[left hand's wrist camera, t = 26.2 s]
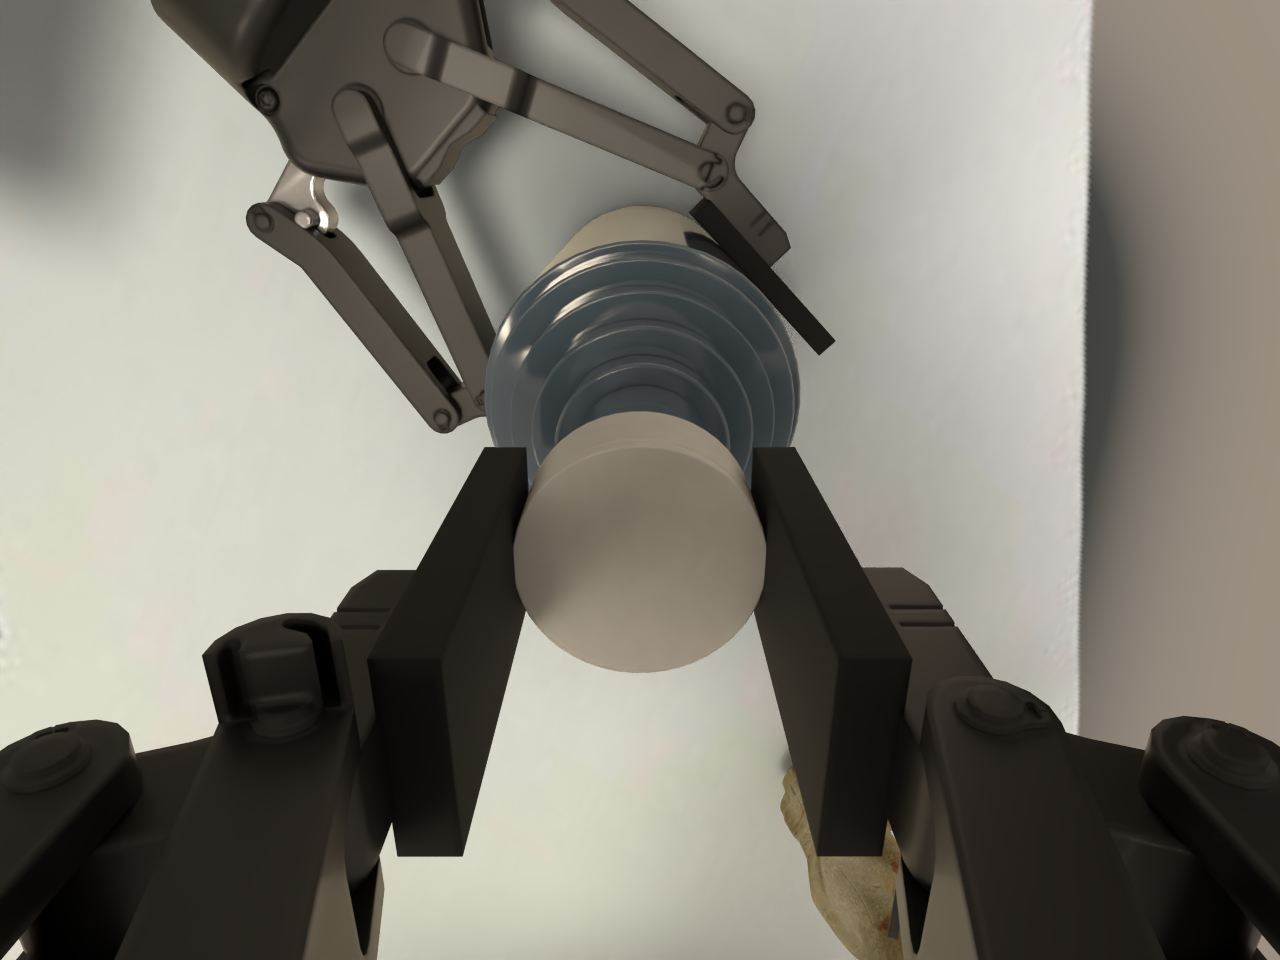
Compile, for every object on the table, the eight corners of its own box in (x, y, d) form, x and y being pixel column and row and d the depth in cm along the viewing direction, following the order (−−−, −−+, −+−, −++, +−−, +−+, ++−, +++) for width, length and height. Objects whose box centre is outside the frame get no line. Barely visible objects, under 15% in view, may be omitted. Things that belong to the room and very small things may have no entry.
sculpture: (861, 825, 46) (957, 1115, 32) (757, 780, 44) (809, 1061, 31) (920, 757, 44) (1049, 1034, 30) (813, 708, 42) (896, 973, 29)
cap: (672, 364, 13) (677, 394, 12) (793, 544, 15) (814, 596, 13) (482, 490, 14) (458, 535, 12) (611, 649, 15) (608, 711, 14)
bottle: (659, 428, 37) (679, 746, 17) (512, 322, 35) (340, 540, 15) (773, 285, 34) (958, 460, 14) (622, 163, 32) (590, 169, 12)
